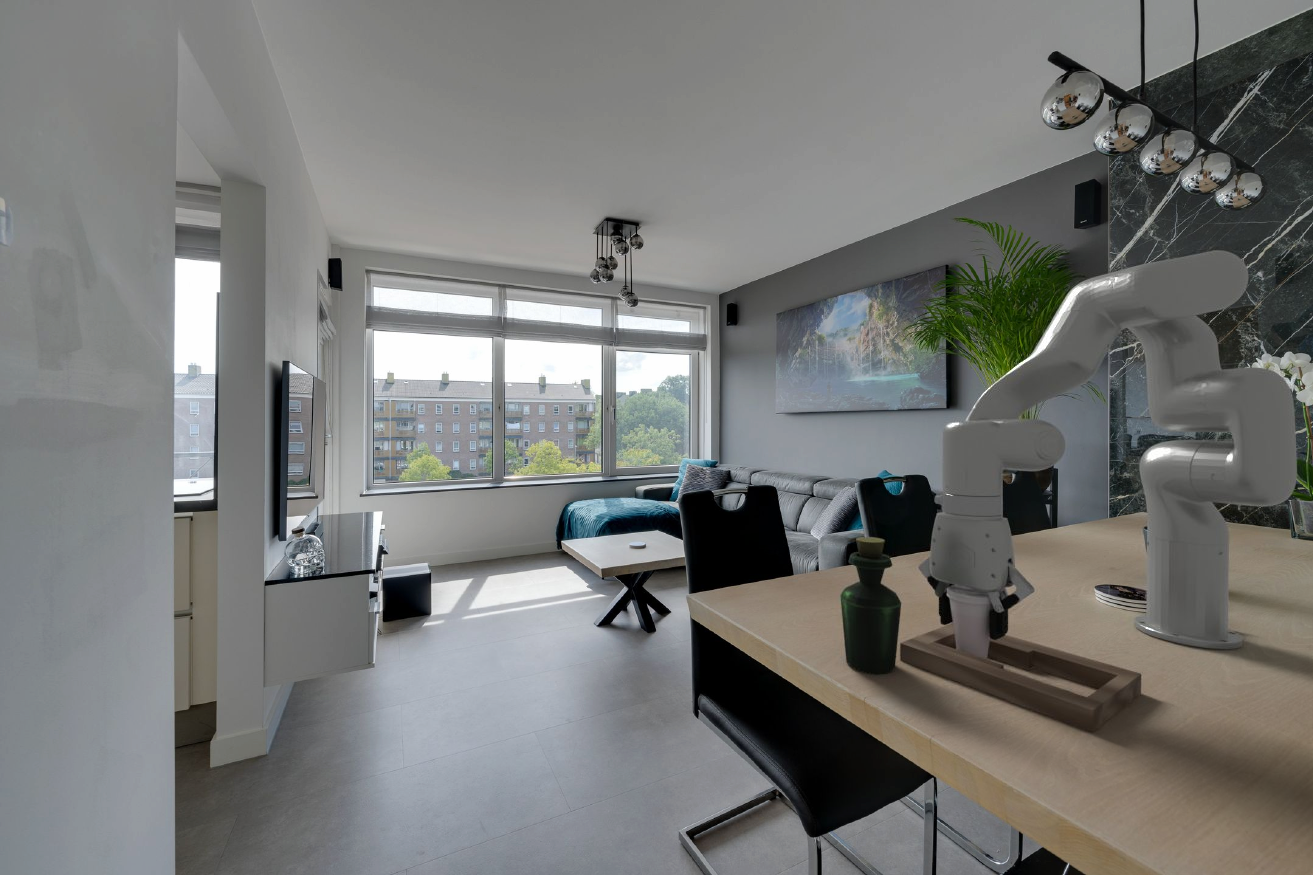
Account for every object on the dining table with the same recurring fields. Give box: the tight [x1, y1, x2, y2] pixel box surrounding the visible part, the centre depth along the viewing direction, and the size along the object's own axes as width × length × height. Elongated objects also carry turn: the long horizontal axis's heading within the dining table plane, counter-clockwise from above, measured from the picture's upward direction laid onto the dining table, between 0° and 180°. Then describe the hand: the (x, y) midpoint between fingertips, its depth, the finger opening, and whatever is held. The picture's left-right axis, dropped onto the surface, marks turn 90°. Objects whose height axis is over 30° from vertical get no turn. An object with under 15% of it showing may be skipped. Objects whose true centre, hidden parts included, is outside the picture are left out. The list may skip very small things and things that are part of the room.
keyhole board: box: [899, 622, 1142, 733], centre depth 74 cm, size 16×23×2 cm
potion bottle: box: [840, 536, 902, 675], centre depth 78 cm, size 8×8×18 cm
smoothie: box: [946, 585, 993, 660], centre depth 79 cm, size 6×6×14 cm
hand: (972, 628), depth 79 cm, fingers closed on smoothie, 6 cm apart
